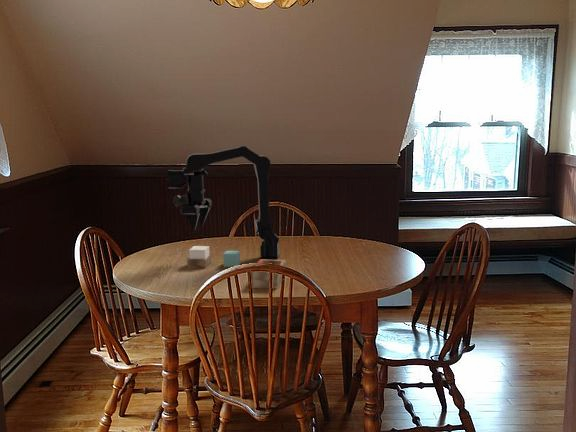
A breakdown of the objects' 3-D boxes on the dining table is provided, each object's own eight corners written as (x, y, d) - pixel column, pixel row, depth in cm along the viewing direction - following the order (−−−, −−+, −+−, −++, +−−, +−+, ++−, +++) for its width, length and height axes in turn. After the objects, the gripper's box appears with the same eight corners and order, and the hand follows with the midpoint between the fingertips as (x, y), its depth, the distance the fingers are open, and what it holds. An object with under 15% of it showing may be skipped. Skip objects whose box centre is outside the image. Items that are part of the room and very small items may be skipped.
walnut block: (211, 264, 227) (211, 255, 226) (205, 269, 220) (205, 260, 220) (193, 263, 228) (193, 254, 228) (187, 268, 221) (187, 259, 221)
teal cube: (240, 263, 226) (239, 250, 225) (236, 267, 221) (236, 254, 220) (227, 263, 227) (226, 250, 226) (223, 266, 222) (223, 253, 221)
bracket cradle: (285, 275, 209) (285, 260, 208) (277, 288, 194) (277, 272, 193) (260, 274, 211) (260, 259, 210) (250, 287, 196) (249, 271, 195)
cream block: (209, 255, 226) (209, 246, 226) (205, 259, 221) (204, 250, 220) (194, 254, 227) (193, 245, 227) (189, 258, 221) (189, 249, 221)
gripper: (184, 184, 235) (186, 223, 238) (165, 190, 217) (168, 232, 220) (211, 184, 233) (213, 223, 236) (195, 191, 215) (197, 233, 218)
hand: (197, 228), depth 227 cm, fingers open, 9 cm apart
